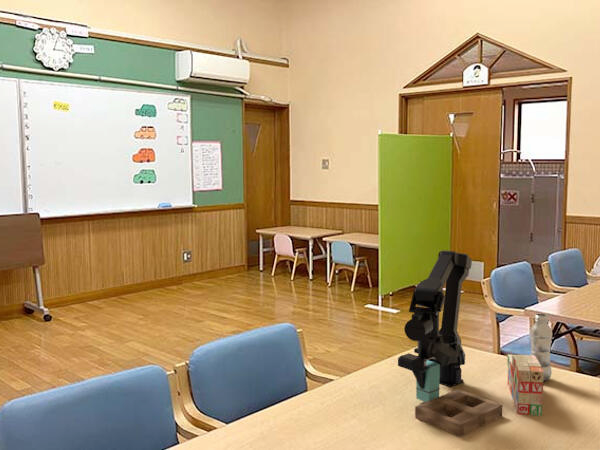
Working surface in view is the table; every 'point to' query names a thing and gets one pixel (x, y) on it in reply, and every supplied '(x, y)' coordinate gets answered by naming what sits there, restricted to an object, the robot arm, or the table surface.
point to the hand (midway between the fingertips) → (427, 386)
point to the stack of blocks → (526, 383)
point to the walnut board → (458, 412)
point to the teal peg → (429, 383)
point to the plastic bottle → (541, 343)
